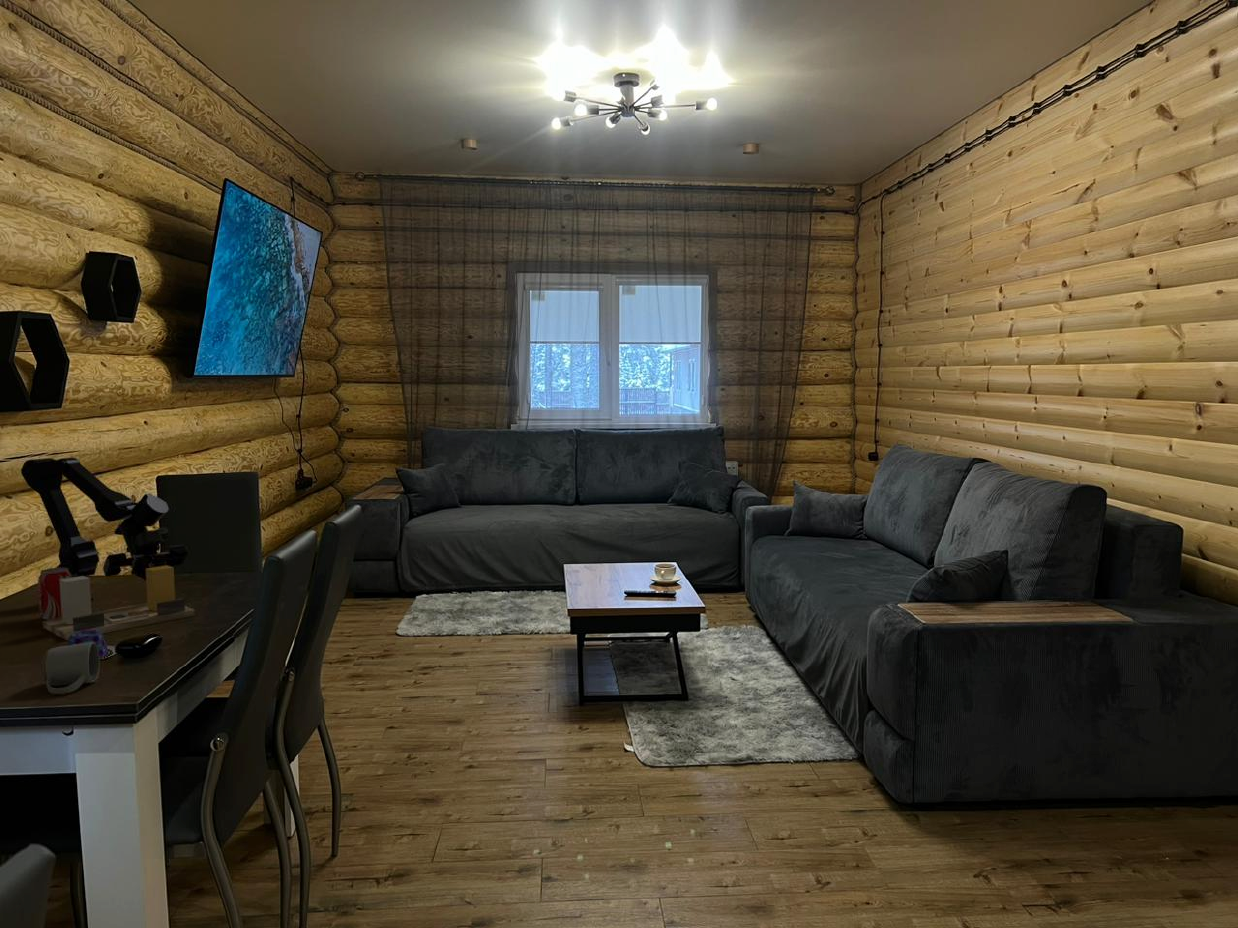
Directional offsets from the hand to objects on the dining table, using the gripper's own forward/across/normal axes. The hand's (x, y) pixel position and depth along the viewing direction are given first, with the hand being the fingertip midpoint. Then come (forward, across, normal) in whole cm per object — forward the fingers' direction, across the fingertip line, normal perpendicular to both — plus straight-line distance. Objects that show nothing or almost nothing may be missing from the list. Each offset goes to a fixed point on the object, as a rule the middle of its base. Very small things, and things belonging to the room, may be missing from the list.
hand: (157, 586), depth 216 cm
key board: (+6, -9, +4) cm, 11 cm away
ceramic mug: (+35, -33, -25) cm, 54 cm away
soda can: (-5, -18, +15) cm, 24 cm away
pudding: (+23, -24, -12) cm, 36 cm away
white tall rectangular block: (+4, -18, +4) cm, 19 cm away
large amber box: (+5, 0, +2) cm, 6 cm away
